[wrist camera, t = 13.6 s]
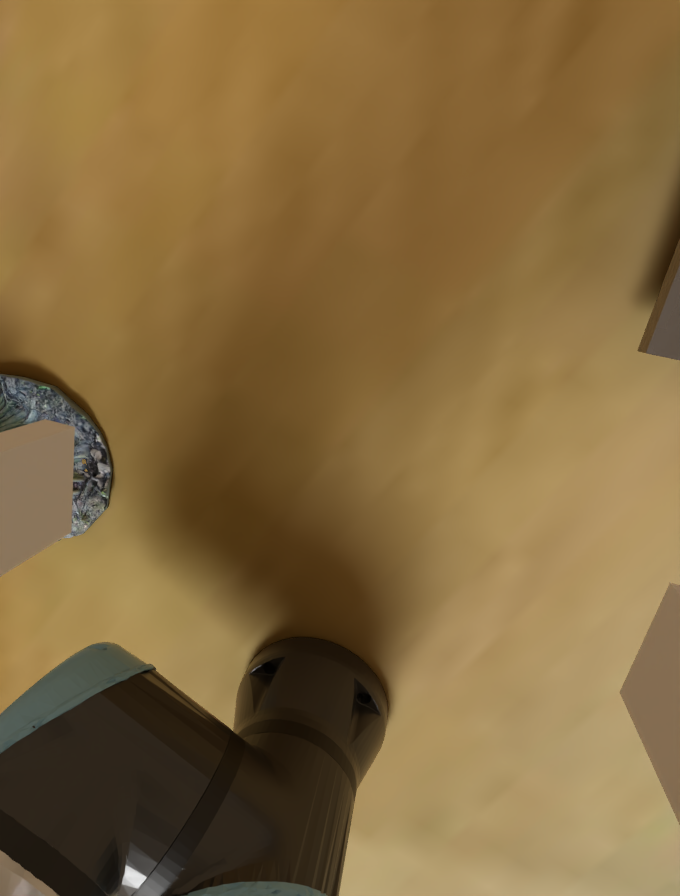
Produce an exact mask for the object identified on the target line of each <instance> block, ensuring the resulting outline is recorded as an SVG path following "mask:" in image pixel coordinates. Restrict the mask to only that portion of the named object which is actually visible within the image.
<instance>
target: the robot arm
mask: <svg viewBox="0 0 680 896" xmlns="http://www.w3.org/2000/svg"><path fill="white" fill-rule="evenodd" d="M74 436H75V427H73V426H69V425H65V424H61V423H58V422H54V421H50V420H46V419H44V420H41V421H38V422H34V423H31V424H27V425H24V426H21V427H17V428H14V429H11V430H7V431H4V432H0V576H2V575H4V574H5V573H7V572H8V571H10V570H12V569H13V568H15V567H16V566H18V565H20V564H21V563H23V562H24V561H26V560H28V559H29V558H31V557H33V556H34V555H36V554H37V553H39V552H41V551H42V550H44V549H45V548H47V547H49V546H50V545H52V544H53V543H55V542H57V541H58V540H60V539H62V538H63V537H65V536H66V535H68V534H70V533H71V526H72V496H73V466H74ZM620 694H621V696H622V698H623V701H624V703H625V705H626V707H627V709H628V712H629V714H630V716H631V718H632V720H633V723H634V725H635V727H636V729H637V732H638V734H639V736H640V738H641V740H642V743H643V745H644V747H645V749H646V751H647V754H648V756H649V758H650V760H651V762H652V765H653V767H654V769H655V771H656V774H657V776H658V778H659V780H660V782H661V785H662V787H663V789H664V791H665V793H666V796H667V798H668V800H669V802H670V804H671V807H672V809H673V811H674V813H675V816H676V818H677V820H678V822H679V824H680V585H676V584H673V583H670V584H669V586H668V589H667V591H666V593H665V595H664V597H663V599H662V602H661V604H660V606H659V608H658V610H657V612H656V615H655V617H654V619H653V621H652V623H651V625H650V628H649V630H648V632H647V634H646V636H645V638H644V641H643V643H642V645H641V647H640V649H639V651H638V654H637V656H636V658H635V660H634V662H633V664H632V667H631V669H630V671H629V673H628V675H627V678H626V680H625V682H624V684H623V686H622V688H621V691H620ZM387 717H388V705H387V699H386V695H385V692H384V690H383V687H382V685H381V683H380V681H379V680H378V678H377V676H376V675H375V674H374V672H373V671H372V670H371V669H370V668H369V667H368V665H367V664H366V663H364V662H363V661H362V660H361V659H360V658H359V657H357V656H356V655H355V654H353V653H352V652H350V651H348V650H347V649H345V648H343V647H341V646H339V645H336V644H334V643H331V642H328V641H324V640H320V639H314V638H291V639H286V640H282V641H279V642H276V643H274V644H271V645H270V646H268V647H266V648H265V649H263V650H262V651H261V652H260V653H259V654H258V655H257V656H256V657H255V658H254V659H253V660H252V662H251V663H250V665H249V667H248V669H247V671H246V673H245V675H244V677H243V678H242V681H241V683H240V686H239V689H238V693H237V700H236V709H235V719H234V729H233V731H232V730H231V729H230V728H229V727H227V726H226V725H225V724H224V723H222V722H221V721H220V720H218V719H217V718H216V717H214V716H213V715H212V714H211V713H209V712H208V711H207V710H205V709H204V708H203V707H201V706H200V705H199V704H198V703H196V702H195V701H194V700H192V699H191V698H190V697H188V696H187V695H186V694H185V693H183V692H182V691H181V690H179V689H178V688H177V687H175V686H174V685H173V684H172V683H170V682H169V681H168V680H167V679H165V678H164V677H163V676H162V675H160V674H159V673H158V672H157V671H156V668H155V667H154V666H153V665H151V664H146V663H144V662H143V661H141V660H140V659H138V658H137V657H135V656H134V655H132V654H131V653H129V652H128V651H126V650H125V649H124V648H122V647H121V646H119V645H117V644H114V643H110V642H101V643H96V644H93V645H90V646H88V647H86V648H84V649H82V650H80V651H79V652H77V653H75V654H74V655H72V656H71V657H69V658H68V659H66V660H65V661H64V662H62V663H61V664H59V665H58V666H57V667H55V668H54V669H53V670H52V671H50V672H49V673H48V674H46V675H45V676H44V677H43V678H41V679H40V680H39V681H38V682H36V683H35V684H34V685H33V686H32V687H31V688H29V689H28V690H27V691H26V692H25V693H23V694H22V695H21V696H20V697H19V698H18V699H17V700H15V701H14V702H13V703H12V704H11V705H10V706H9V707H8V708H7V709H5V710H4V711H3V712H2V713H1V714H0V896H339V891H340V885H341V879H342V873H343V867H344V861H345V855H346V849H347V843H348V837H349V831H350V825H351V819H352V813H353V807H354V801H355V796H356V791H357V788H358V786H359V785H360V783H361V781H362V780H363V778H364V776H365V775H366V773H367V771H368V769H369V768H370V766H371V764H372V763H373V761H374V759H375V758H376V756H377V754H378V752H379V751H380V749H381V746H382V743H383V741H384V737H385V731H386V724H387Z"/></svg>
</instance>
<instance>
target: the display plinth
mask: <svg viewBox="0 0 680 896" xmlns="http://www.w3.org/2000/svg"><path fill="white" fill-rule="evenodd" d="M638 351H639V352H643V353H647V354H652V355H657V356H662V357H667V358H671V359H676V360H680V239H679V242H678V244H677V247H676V250H675V252H674V255H673V258H672V260H671V263H670V266H669V268H668V271H667V274H666V276H665V279H664V281H663V284H662V287H661V289H660V292H659V295H658V297H657V300H656V303H655V305H654V308H653V311H652V313H651V316H650V319H649V321H648V324H647V327H646V329H645V332H644V335H643V337H642V340H641V343H640V345H639V348H638Z"/></svg>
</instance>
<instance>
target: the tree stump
mask: <svg viewBox="0 0 680 896" xmlns="http://www.w3.org/2000/svg"><path fill="white" fill-rule="evenodd" d="M44 419H46V420H50V421H54V422H58V423H61V424H65V425H69V426H73V427H75V436H74V466H73V496H72V526H71V533H70V534H68V535H66V536H65V537H63V538H71V537H73V536H78V535H81V534H83V533H85V531H86V530H87V529H88V528H89V527H90V526H91V525H92V524H93V523H94V522H95V521H96V520H97V518H98V517H99V516H100V515H101V514H102V513H103V512H104V511H105V510H106V509H107V508H108V504H109V496H110V487H111V479H112V471H113V468H112V464H111V460H110V456H109V452H108V447H107V444H106V442H105V440H104V438H103V435H102V433H101V431H100V430H99V429H98V427H97V426H96V425H95V423H94V422H93V420H92V419H91V418H90V416H89V415H88V414H87V413H86V412H85V411H84V410H82V409H81V408H80V407H79V406H78V405H77V404H76V403H75V402H74V401H72V400H71V399H70V398H69V397H68V396H67V395H66V394H65V393H64V392H62V391H61V390H60V389H59V388H58V387H56V386H53V385H50V384H46V383H43V382H39V381H36V380H33V379H30V378H26V377H21V376H14V375H7V374H0V432H4V431H7V430H11V429H14V428H17V427H21V426H24V425H27V424H31V423H34V422H38V421H41V420H44ZM82 459H85V460H86V463H87V465H86V464H84V465H83V464H82ZM85 468H86V469H87V470H88V472H85ZM60 540H61V539H60ZM60 540H58V541H60Z"/></svg>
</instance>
